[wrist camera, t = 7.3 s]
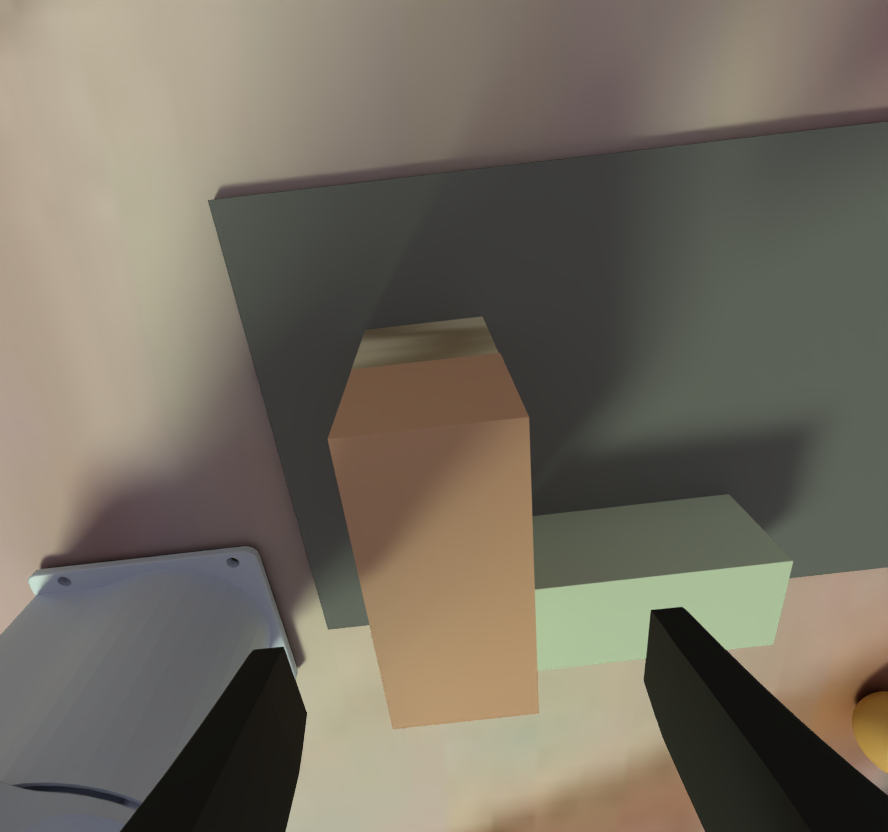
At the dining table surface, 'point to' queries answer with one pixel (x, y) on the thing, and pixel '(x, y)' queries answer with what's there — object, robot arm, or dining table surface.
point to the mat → (605, 327)
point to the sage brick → (652, 577)
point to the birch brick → (424, 342)
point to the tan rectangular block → (442, 535)
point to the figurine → (873, 727)
